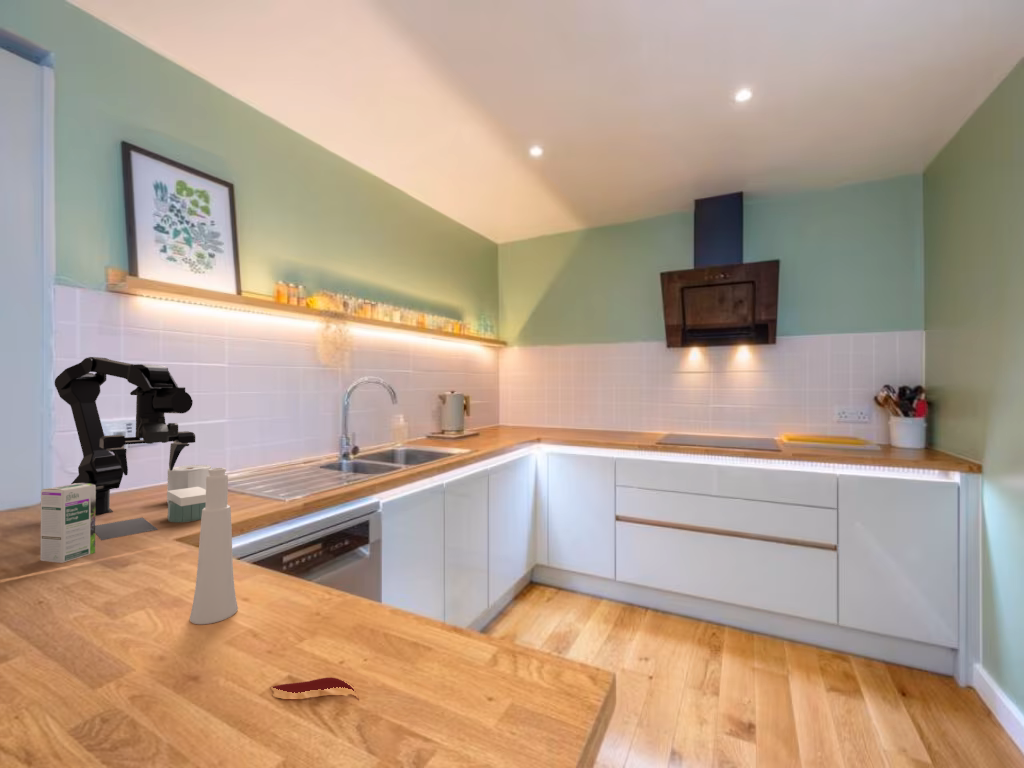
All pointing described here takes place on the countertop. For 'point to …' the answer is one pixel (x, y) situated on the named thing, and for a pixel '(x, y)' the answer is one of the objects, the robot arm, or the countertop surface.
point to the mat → (123, 528)
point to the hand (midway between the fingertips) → (149, 472)
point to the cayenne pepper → (313, 685)
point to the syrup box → (67, 522)
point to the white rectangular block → (187, 496)
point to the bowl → (184, 512)
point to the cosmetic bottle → (215, 555)
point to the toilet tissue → (187, 477)
